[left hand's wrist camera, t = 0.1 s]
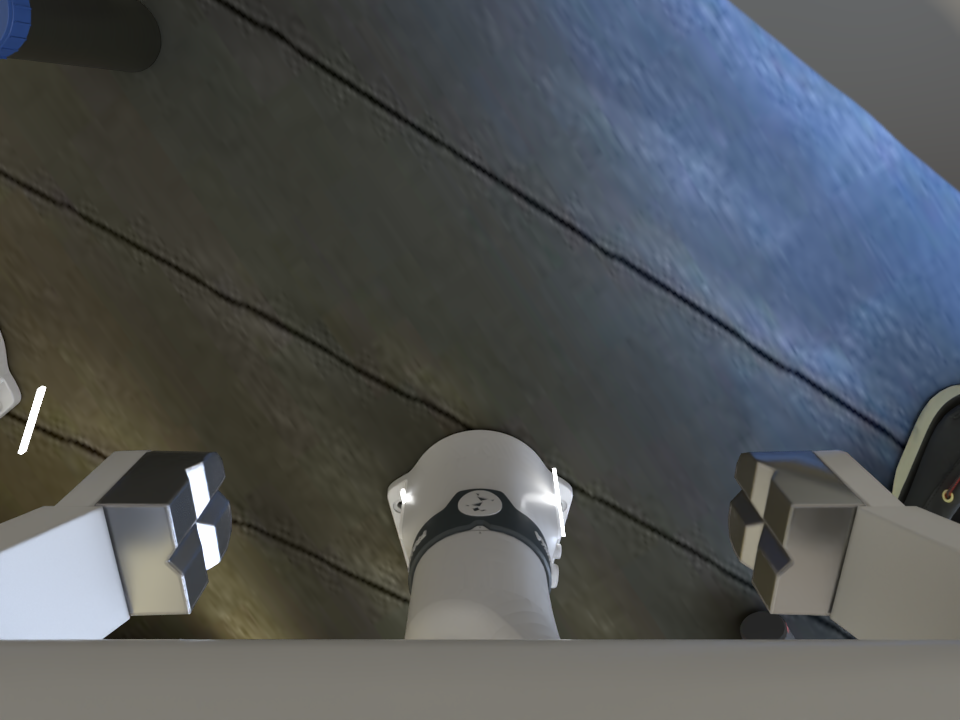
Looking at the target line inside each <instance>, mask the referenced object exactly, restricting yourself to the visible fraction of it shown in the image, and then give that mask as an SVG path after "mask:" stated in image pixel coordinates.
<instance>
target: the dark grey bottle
mask: <svg viewBox="0 0 960 720" xmlns="http://www.w3.org/2000/svg"><path fill="white" fill-rule="evenodd" d="M29 3H30V7H31V9H32V10H31V23H30V24H31V26H30V29H29V32H28V35H27V38H26V39H27V40H26V41H24V43H23V44H22V46H21V47H20V48H19V49H18V52H14V53H13V54H12V55H10V56H8V57H6V58H12V59H21V60H29V61H38V62H47V63H56V64H64V65H73V66H82V67H90V68H99V69H108V70H117V71H125V72H139V71H142V70H144V69H147V68H148V67H149V66H151V65H152V64H153V63H154V61H155V60H156V58H157V56H158V54H159V51H160V46H161V36H160V31H159V27H158V25H157V22H156V20H155V18H154V17H153V15H152V14H151V12H150V11H149V10H148V9H147V8H146V7H145V6H144V5H143V4H141V3H140V2H138V1H137V0H29Z"/></svg>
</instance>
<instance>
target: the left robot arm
mask: <svg viewBox="0 0 960 720" xmlns="http://www.w3.org/2000/svg"><path fill="white" fill-rule="evenodd" d="M225 478H226V477H225V472H224V467H223V462H222V458H221V457H220V456H219V455H218V454H217V453H216V452H193V451H150V450H134V451H116V452H113V453H112V454H111V455H110V456H109V457H108V458H107V459H106V460H105V461H103V462H102V463H101V464H100V465H99V466H98V467H97V468H96V469H95V470H94V471H92V472H91V473H90V474H89V475H88V476H87V477H86V478H85V479H84V480H83V481H82V482H80V483H79V484H78V485H77V486H76V487H75V488H74V489H73V490H72V491H71V492H69V493H68V494H67V495H66V496H65V497H64V498H63V499H62V500H61V501H60V502H59V503H57V504H56V505H55V506H43V507H41V508H38V509H36V510H33V511H31V512H28V513H26V514H23V515H21V516H18V517H16V518H13V519H11V520H8V521H6V522H3V523H1V524H0V720H960V524H959V523H956V522H954V521H952V520H949V519H947V518H944V517H942V516H939V515H937V514H934V513H932V512H929V511H927V510H924V509H922V508H919V507H917V506H905V505H904V504H903V503H902V502H900V501H899V500H898V499H897V498H896V497H895V496H894V495H893V494H892V493H891V492H890V491H888V490H887V489H886V488H885V487H884V486H883V485H882V484H881V483H880V482H879V481H878V480H876V479H875V478H874V477H873V476H872V475H871V474H870V473H869V472H868V471H867V470H866V469H864V468H863V467H862V466H861V465H860V464H859V463H858V462H857V461H856V460H855V459H853V458H852V457H851V456H850V455H849V454H848V453H847V452H844V451H840V450H825V451H776V452H747V453H741V455H740V457H739V460H738V462H737V465H736V471H735V476H734V478H735V479H736V481H737V482H738V484H739V485H740V487H741V488H742V490H741V491H740V492H739V493H738V494H737V496H736V497H735V498H734V499H733V500H732V501H731V502H730V508H729V516H728V526H729V537H730V541H731V544H732V547H733V550H734V552H735V554H736V556H737V558H738V560H739V561H740V562H741V563H742V564H744V565H746V566H747V567H749V568H751V569H752V570H753V575H752V581H751V582H752V584H753V586H754V587H755V589H756V591H757V592H758V594H759V596H760V597H761V599H762V601H763V603H764V604H765V606H766V608H767V609H768V611H769V613H770V614H791V615H828V616H830V619H832V620H833V621H834V622H836V623H837V624H838V625H840V626H841V627H842V628H844V629H845V630H847V631H848V632H849V633H851V634H852V635H853V636H855V637H856V638H857V639H859V640H560V637H559V634H558V631H557V627H556V623H555V620H554V616H553V612H552V607H551V602H550V597H549V595H550V591H551V588H554V587H556V586H557V583H558V576H559V569H558V565H556V564H553V563H554V560H555V559H560V556H561V544H559V543H560V539H561V536H562V537H564V536H565V531H564V525H565V522H566V519H567V515H568V512H569V508H570V505H571V501H572V497H573V494H572V487H571V486H570V484H569V483H568V482H566V481H565V480H563V479H562V478H560V477H559V476H557V473H556V468H553V473H551V472H550V471H549V470H548V469H547V467H546V466H545V465H544V463H543V462H542V460H541V459H540V458H539V456H538V455H537V454H536V453H535V452H534V451H533V450H532V449H531V448H530V447H529V446H527V445H526V444H525V443H523V442H522V441H520V440H518V439H516V438H514V437H512V436H510V435H507V434H504V433H500V432H496V431H490V430H470V431H464V432H460V433H456V434H453V435H450V436H448V437H446V438H444V439H442V440H440V441H438V442H437V443H435V444H434V445H433V446H431V447H430V448H429V449H428V450H427V451H426V452H425V453H424V454H423V455H422V456H421V458H420V459H419V461H418V462H417V463H416V465H415V466H414V467H413V469H412V470H411V471H410V472H409V473H407V474H405V475H403V476H402V477H400V478H398V479H397V480H395V481H394V482H392V483H391V484H390V486H389V487H388V494H387V497H388V501H389V505H390V508H391V512H392V515H393V518H394V522H395V525H396V529H397V532H398V536H399V539H400V543H401V546H402V549H403V553H404V556H405V560H406V563H407V567H408V572H409V576H408V585H409V591H410V595H411V598H410V605H409V612H408V619H407V626H406V633H405V639H103V638H104V637H106V636H107V635H108V634H110V633H111V632H112V631H114V630H115V629H116V628H118V627H119V626H120V625H122V624H123V623H124V622H126V621H127V620H128V619H130V616H131V615H167V614H190V613H191V611H192V609H193V608H194V606H195V604H196V603H197V601H198V599H199V597H200V596H201V594H202V592H203V591H204V589H205V587H206V586H207V584H208V582H209V581H208V575H207V570H208V569H209V568H211V567H213V566H214V565H216V564H218V563H219V562H220V561H221V559H222V558H223V556H224V554H225V552H226V550H227V548H228V544H229V540H230V535H231V531H232V514H231V507H230V502H229V501H228V500H227V499H226V498H225V497H224V496H223V494H222V493H221V492H220V491H219V490H218V488H219V487H220V485H221V484H222V482H223V481H224V479H225ZM398 502H402V505H401V504H399V503H398ZM561 502H562V503H561Z"/></svg>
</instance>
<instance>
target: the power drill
mask: <svg viewBox="0 0 960 720" xmlns="http://www.w3.org/2000/svg"><path fill="white" fill-rule="evenodd" d="M740 634H741V637H742V640H796V639H795V638H794V636H793V634H792V633H791V631H790V629H789V628H788V626H787V624H786V623H785V621H784V620H783V619H782V618H781V617H780V616H779V615H777V614H770V613H769V611H760V612H755V613H753V614H750V615H749V616H748V617H746V618H745V619H744V620H743V622H742V623H741V626H740Z"/></svg>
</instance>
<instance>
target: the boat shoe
mask: <svg viewBox="0 0 960 720" xmlns="http://www.w3.org/2000/svg"><path fill="white" fill-rule="evenodd" d="M892 494H893V495H894V496H895V497H896V498H897V499H898V500H899V501H900V502H902V503H903V504H904V505H905V506H917V507H919V508H922V509H924V510H927V511H929V512H932V513H934V514H937V515H939V516H942V517H944V518H947V519H949V520H952V521H954V522H956V523H959V524H960V385H954V386H951V387H948V388H946V389H944V390H942V391H940V392H939V393H938V394H936V395H935V396H934V397H933V398H932V399H931V400H930V401H929V402H928V403H927V405H926V406H925V407H924V409H923V410H922V412H921V414H920V416H919V418H918V420H917V422H916V424H915V426H914V429H913V431H912V433H911V435H910V438H909V440H908V443H907V445H906V447H905V450H904V452H903V455H902V457H901V459H900V462H899V464H898V467H897V469H896V474H895V479H894V484H893V491H892Z"/></svg>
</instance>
